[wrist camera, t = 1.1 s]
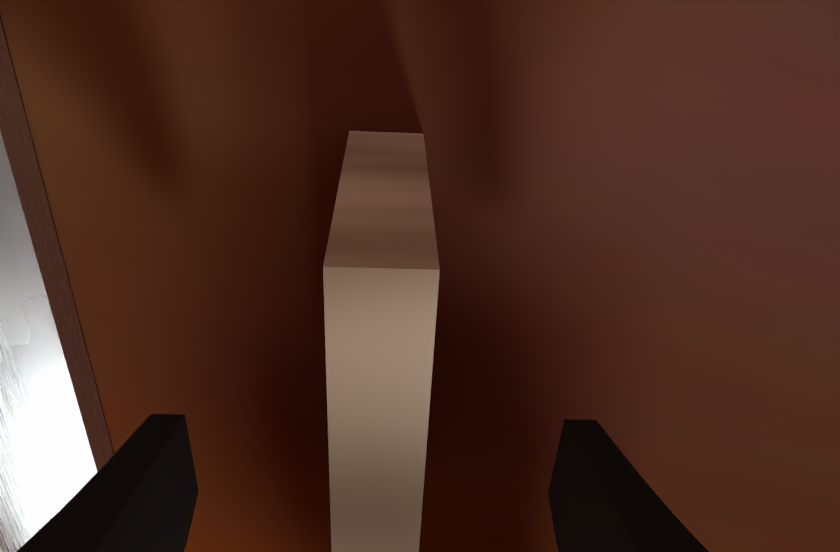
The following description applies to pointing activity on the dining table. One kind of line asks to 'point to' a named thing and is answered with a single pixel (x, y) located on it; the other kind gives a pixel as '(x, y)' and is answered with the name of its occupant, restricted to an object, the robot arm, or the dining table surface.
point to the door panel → (380, 341)
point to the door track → (38, 346)
